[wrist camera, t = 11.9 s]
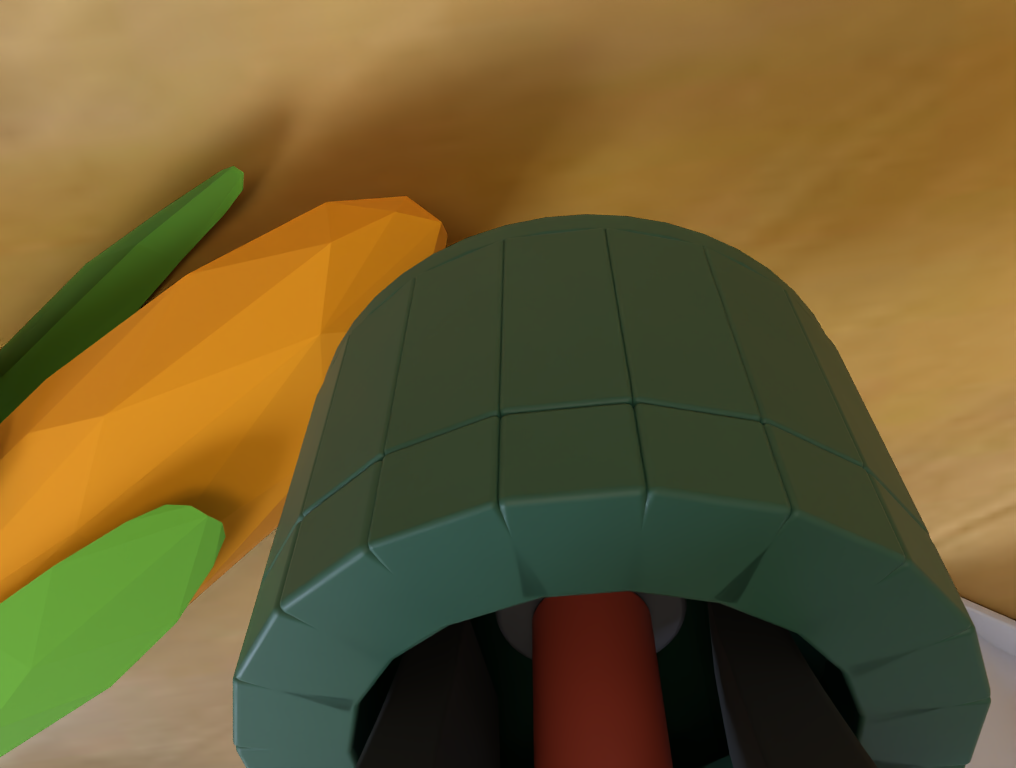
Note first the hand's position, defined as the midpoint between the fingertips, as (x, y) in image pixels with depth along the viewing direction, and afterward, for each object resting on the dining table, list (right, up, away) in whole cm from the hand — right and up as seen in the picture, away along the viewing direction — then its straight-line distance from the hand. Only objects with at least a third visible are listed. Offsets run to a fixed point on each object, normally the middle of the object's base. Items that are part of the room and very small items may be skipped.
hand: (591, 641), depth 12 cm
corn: (-10, +3, +11) cm, 15 cm away
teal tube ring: (0, +2, +3) cm, 4 cm away
